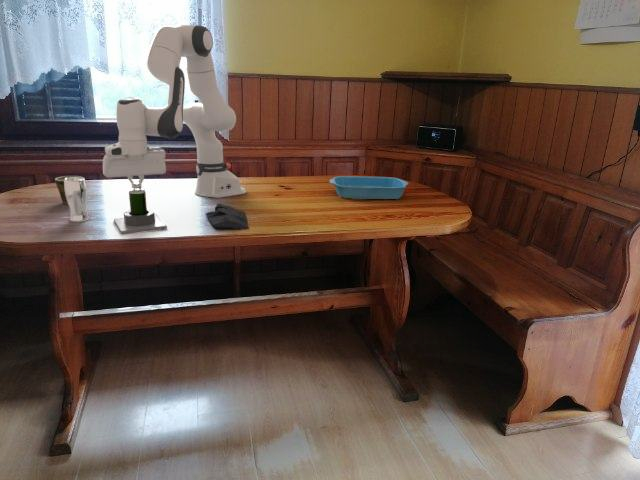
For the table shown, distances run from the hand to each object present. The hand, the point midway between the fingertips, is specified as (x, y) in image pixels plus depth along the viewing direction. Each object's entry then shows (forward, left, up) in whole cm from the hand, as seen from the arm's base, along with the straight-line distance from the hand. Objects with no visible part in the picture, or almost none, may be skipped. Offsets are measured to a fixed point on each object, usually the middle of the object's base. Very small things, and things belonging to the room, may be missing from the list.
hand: (136, 188), depth 167 cm
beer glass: (+18, -15, -14) cm, 27 cm away
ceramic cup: (+19, -41, -14) cm, 47 cm away
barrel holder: (0, 0, -14) cm, 14 cm away
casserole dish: (-104, -6, -14) cm, 105 cm away
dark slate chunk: (-30, +7, -14) cm, 34 cm away
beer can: (0, 0, -12) cm, 12 cm away
